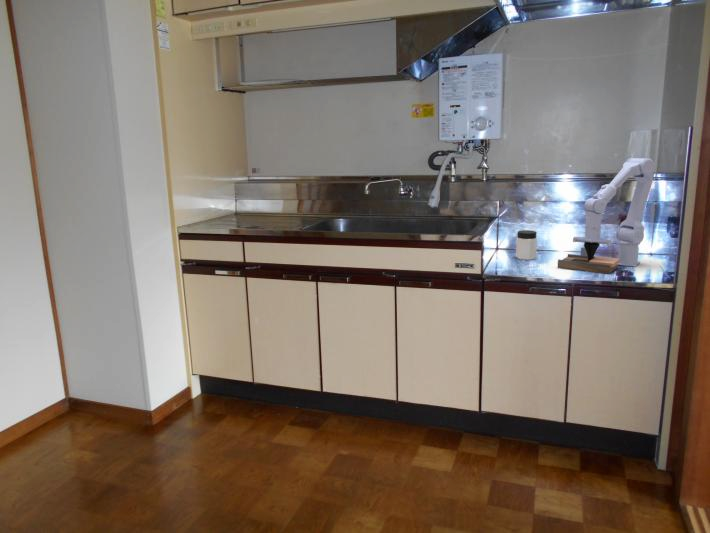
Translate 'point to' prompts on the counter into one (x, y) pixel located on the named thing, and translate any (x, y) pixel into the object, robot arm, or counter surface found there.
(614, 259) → the lid
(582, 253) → the block
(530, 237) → the jar
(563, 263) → the board
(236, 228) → the counter surface
